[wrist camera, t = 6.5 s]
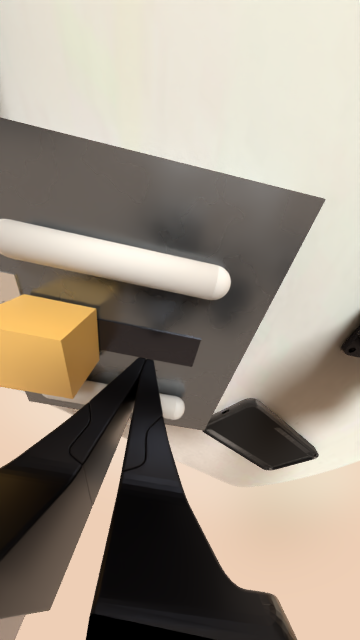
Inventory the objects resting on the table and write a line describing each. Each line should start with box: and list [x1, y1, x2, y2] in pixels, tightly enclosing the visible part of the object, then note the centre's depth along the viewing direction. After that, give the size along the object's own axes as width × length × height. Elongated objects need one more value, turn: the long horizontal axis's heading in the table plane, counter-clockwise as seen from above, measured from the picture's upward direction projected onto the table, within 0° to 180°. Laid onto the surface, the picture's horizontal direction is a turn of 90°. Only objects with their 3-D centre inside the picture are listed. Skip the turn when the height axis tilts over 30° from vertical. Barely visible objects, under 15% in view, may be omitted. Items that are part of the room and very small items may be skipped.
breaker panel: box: [0, 118, 325, 430], centre depth 12 cm, size 16×18×3 cm
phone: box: [202, 398, 319, 470], centre depth 21 cm, size 8×1×15 cm
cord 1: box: [42, 380, 185, 420], centre depth 13 cm, size 11×2×2 cm, turn 79°
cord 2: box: [0, 219, 231, 300], centre depth 8 cm, size 11×2×2 cm, turn 79°
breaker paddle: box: [0, 294, 100, 399], centre depth 9 cm, size 4×4×3 cm
